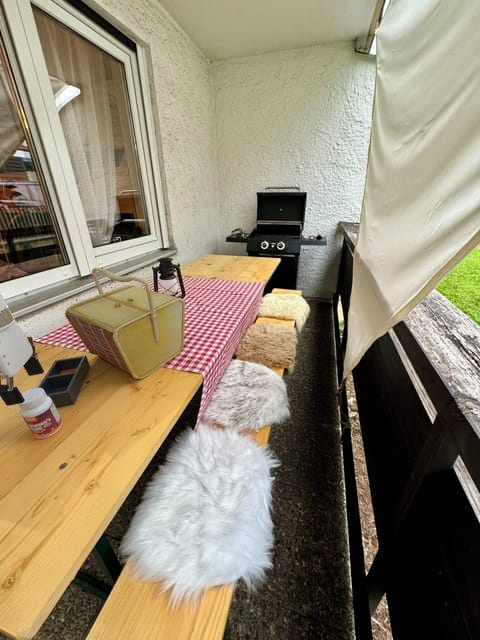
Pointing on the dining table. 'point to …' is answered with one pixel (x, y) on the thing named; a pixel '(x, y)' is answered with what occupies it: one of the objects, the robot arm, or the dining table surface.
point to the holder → (65, 380)
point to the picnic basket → (130, 325)
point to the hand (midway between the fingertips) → (27, 387)
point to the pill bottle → (40, 413)
